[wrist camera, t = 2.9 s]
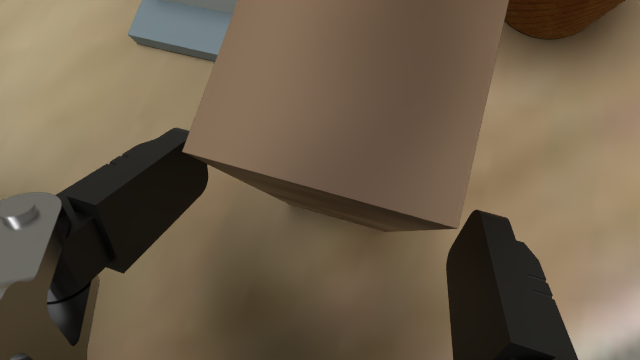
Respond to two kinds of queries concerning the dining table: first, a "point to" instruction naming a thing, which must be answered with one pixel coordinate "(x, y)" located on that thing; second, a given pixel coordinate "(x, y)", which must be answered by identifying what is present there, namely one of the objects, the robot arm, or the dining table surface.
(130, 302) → the dining table surface
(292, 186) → the post
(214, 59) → the butter dish
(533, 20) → the disposable coffee cup
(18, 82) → the dining table surface
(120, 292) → the dining table surface
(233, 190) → the dining table surface
